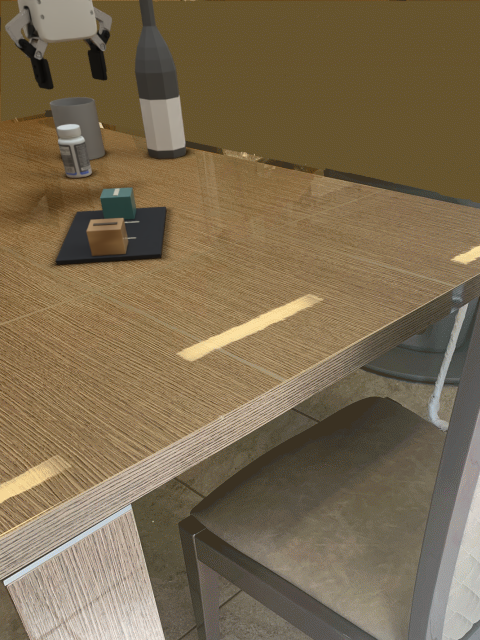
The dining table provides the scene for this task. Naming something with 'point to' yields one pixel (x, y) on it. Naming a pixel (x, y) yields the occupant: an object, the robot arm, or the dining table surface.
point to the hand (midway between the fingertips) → (74, 83)
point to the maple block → (107, 236)
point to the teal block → (118, 203)
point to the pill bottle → (73, 151)
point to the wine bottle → (158, 90)
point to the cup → (80, 121)
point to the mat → (140, 233)
